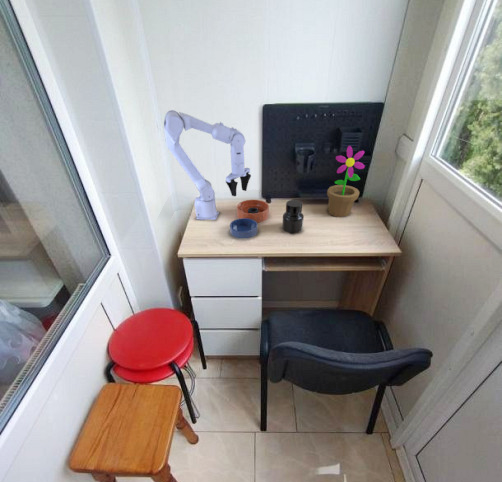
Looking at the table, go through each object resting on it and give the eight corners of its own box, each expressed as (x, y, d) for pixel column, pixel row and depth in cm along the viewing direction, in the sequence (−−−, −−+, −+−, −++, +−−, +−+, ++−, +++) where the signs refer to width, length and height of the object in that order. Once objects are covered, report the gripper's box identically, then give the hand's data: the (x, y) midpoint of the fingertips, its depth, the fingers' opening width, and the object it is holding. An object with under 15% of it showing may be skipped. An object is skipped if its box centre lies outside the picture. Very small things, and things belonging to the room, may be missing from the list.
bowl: (234, 223, 131) (234, 213, 127) (240, 208, 142) (239, 198, 138) (267, 225, 129) (267, 214, 126) (270, 210, 140) (270, 200, 136)
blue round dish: (228, 238, 121) (227, 231, 119) (233, 224, 130) (232, 217, 127) (255, 240, 120) (255, 232, 118) (259, 226, 129) (259, 218, 126)
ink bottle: (306, 230, 125) (310, 204, 117) (292, 236, 121) (294, 210, 113) (291, 221, 131) (294, 196, 122) (277, 227, 127) (278, 202, 119)
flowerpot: (323, 217, 133) (335, 147, 113) (324, 204, 143) (336, 137, 123) (354, 220, 131) (372, 149, 110) (353, 206, 141) (370, 139, 120)
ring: (247, 217, 134) (247, 212, 132) (248, 212, 137) (248, 207, 135) (257, 218, 133) (257, 212, 131) (258, 213, 136) (258, 207, 135)
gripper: (233, 168, 117) (235, 200, 127) (255, 159, 125) (255, 189, 135) (221, 165, 120) (224, 196, 130) (242, 156, 128) (243, 186, 138)
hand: (239, 193), depth 132 cm, fingers open, 7 cm apart
